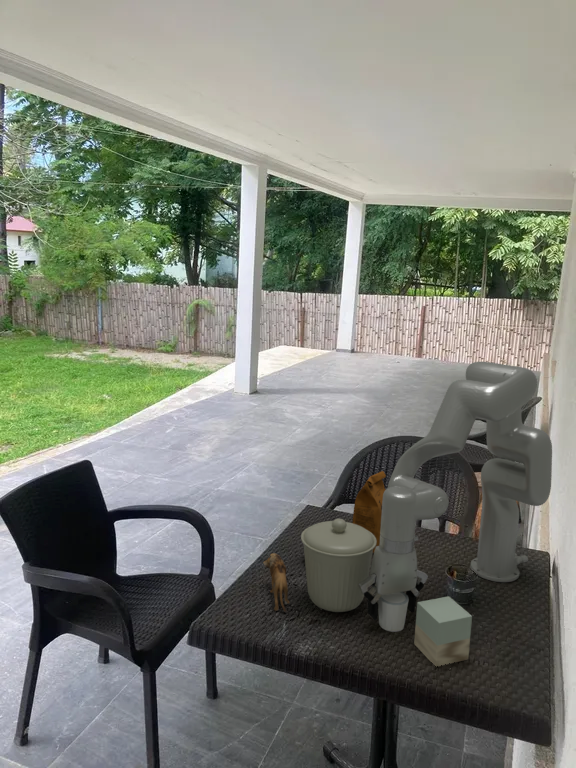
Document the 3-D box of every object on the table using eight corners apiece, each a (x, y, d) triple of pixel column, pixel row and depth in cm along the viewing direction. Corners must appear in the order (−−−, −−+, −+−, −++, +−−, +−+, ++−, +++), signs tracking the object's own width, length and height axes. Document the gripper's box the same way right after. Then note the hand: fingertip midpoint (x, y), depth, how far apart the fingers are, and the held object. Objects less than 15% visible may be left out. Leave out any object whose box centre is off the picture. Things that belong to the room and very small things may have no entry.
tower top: (447, 617, 127) (448, 596, 126) (470, 638, 120) (472, 616, 119) (415, 623, 124) (417, 602, 123) (437, 645, 117) (439, 623, 116)
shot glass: (406, 635, 128) (408, 606, 127) (375, 630, 129) (377, 602, 128) (406, 618, 135) (408, 590, 133) (377, 614, 136) (378, 586, 135)
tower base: (445, 637, 128) (446, 617, 127) (468, 660, 120) (470, 638, 120) (414, 644, 125) (415, 623, 124) (435, 667, 118) (437, 645, 117)
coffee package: (395, 543, 173) (400, 473, 169) (376, 558, 163) (381, 484, 160) (366, 534, 179) (370, 466, 175) (346, 548, 169) (349, 476, 165)
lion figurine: (261, 584, 148) (262, 551, 146) (281, 581, 149) (282, 549, 148) (276, 616, 134) (277, 580, 132) (298, 613, 135) (299, 577, 134)
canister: (319, 574, 153) (322, 499, 150) (383, 594, 144) (388, 515, 141) (285, 606, 138) (287, 523, 134) (354, 631, 129) (359, 543, 125)
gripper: (420, 531, 135) (414, 598, 138) (354, 540, 129) (349, 610, 132) (439, 545, 128) (433, 615, 131) (370, 555, 122) (365, 629, 125)
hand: (391, 613), depth 131 cm, fingers open, 9 cm apart
